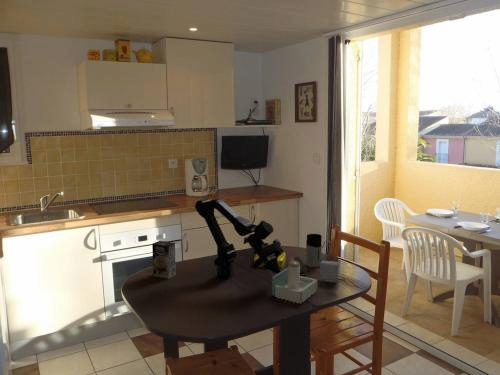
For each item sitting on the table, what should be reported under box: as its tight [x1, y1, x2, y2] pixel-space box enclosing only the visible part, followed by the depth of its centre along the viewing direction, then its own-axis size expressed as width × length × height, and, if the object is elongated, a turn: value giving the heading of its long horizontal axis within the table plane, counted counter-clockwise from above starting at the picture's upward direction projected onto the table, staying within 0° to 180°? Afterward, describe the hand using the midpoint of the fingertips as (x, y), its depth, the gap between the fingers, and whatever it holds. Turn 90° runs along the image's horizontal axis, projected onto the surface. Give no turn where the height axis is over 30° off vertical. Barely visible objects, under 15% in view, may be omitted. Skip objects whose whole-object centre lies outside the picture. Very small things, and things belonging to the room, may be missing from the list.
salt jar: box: [287, 261, 300, 291], centre depth 186 cm, size 5×5×12 cm
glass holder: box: [304, 233, 333, 268], centre depth 221 cm, size 9×14×15 cm, turn 54°
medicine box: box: [319, 260, 340, 284], centre depth 200 cm, size 8×4×9 cm, turn 71°
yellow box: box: [253, 251, 287, 269], centre depth 226 cm, size 15×15×5 cm
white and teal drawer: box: [271, 267, 310, 297], centre depth 186 cm, size 12×15×8 cm
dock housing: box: [274, 276, 319, 305], centre depth 185 cm, size 12×16×5 cm
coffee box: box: [151, 240, 177, 279], centre depth 207 cm, size 9×6×16 cm
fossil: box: [286, 255, 308, 277], centre depth 209 cm, size 11×9×10 cm
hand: (280, 274), depth 189 cm, fingers closed, pressing on white and teal drawer
